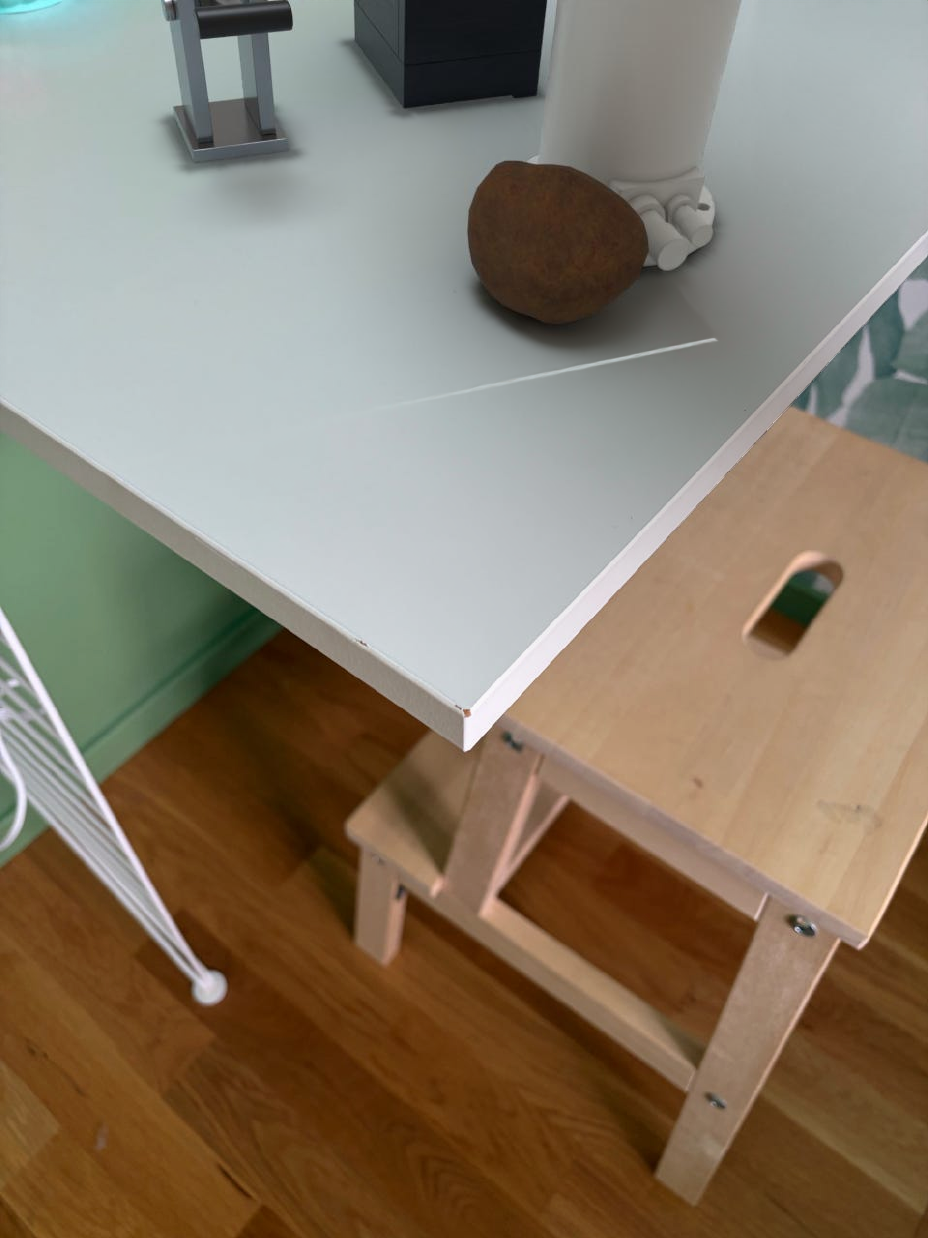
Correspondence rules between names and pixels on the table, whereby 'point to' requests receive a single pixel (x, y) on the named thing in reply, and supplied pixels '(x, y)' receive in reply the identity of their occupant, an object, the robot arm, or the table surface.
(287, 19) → the lever
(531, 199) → the potato
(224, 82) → the table surface
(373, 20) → the toaster
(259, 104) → the lever bracket
